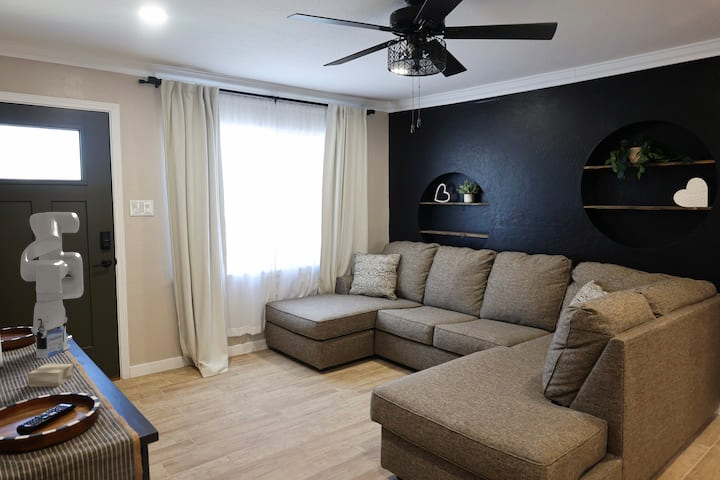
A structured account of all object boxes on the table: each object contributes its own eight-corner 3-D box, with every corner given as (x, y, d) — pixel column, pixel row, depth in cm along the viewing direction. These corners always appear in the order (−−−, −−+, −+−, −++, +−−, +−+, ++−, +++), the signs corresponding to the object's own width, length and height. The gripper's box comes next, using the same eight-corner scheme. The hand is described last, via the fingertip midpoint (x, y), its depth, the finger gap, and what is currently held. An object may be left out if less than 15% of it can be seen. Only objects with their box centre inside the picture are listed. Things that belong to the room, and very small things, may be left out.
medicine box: (47, 358, 167) (47, 334, 166) (35, 357, 167) (35, 333, 166) (63, 351, 174) (63, 328, 174) (52, 351, 175) (51, 327, 174)
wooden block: (45, 377, 176) (45, 363, 176) (73, 376, 177) (73, 363, 176) (28, 387, 166) (28, 373, 166) (58, 386, 167) (58, 373, 166)
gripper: (56, 292, 178) (57, 338, 179) (20, 301, 161) (22, 352, 162) (75, 293, 178) (76, 339, 179) (41, 302, 160) (43, 353, 161)
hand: (50, 345), depth 170 cm, fingers closed on medicine box, 8 cm apart
